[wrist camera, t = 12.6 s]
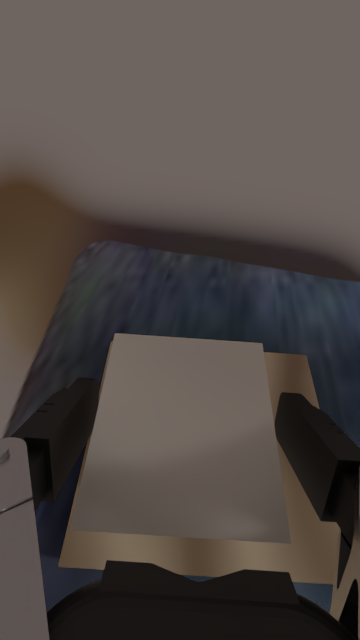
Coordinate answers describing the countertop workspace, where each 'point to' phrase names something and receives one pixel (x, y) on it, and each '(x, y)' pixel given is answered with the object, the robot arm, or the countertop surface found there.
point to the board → (227, 555)
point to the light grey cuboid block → (184, 444)
